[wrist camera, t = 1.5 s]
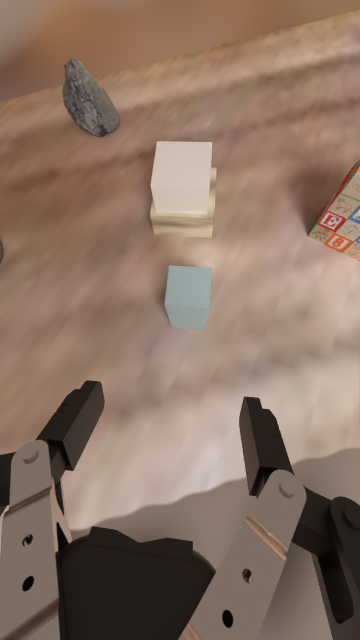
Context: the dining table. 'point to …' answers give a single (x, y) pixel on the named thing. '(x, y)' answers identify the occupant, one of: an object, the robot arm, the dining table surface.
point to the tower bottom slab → (186, 218)
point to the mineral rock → (88, 100)
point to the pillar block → (188, 296)
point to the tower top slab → (181, 177)
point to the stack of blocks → (341, 217)
